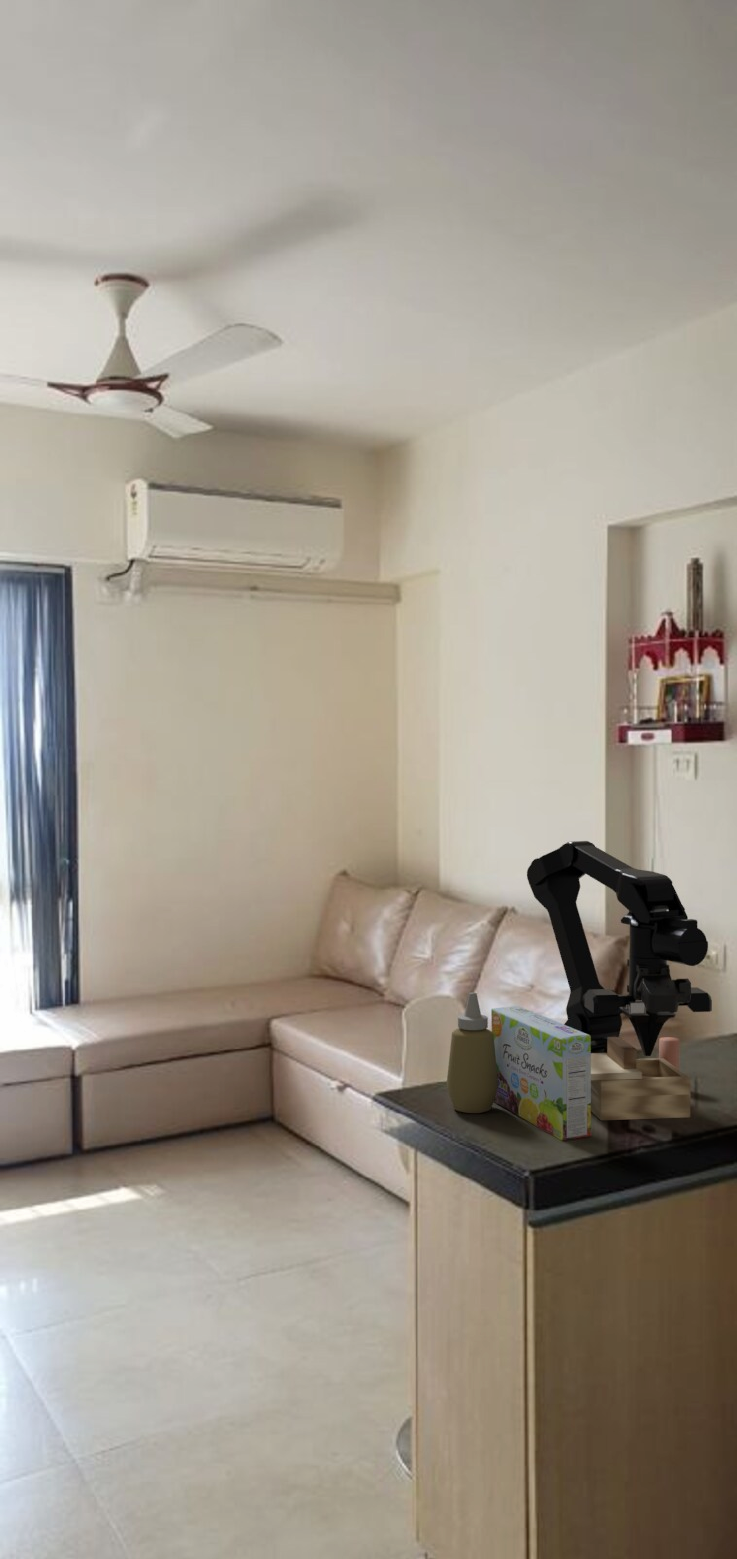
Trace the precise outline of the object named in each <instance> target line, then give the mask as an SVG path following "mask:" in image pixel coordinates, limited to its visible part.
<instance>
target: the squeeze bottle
mask: <svg viewBox="0 0 737 1559" xmlns="http://www.w3.org/2000/svg"><path fill="white" fill-rule="evenodd" d="M467 997H468V998H467V1003H466V1005H465V1006H466V1007H465V1011H464V1014H459V1015H458V1016H457V1028H456V1029H454V1030H453V1031H452V1032H451V1038H450V1049H449V1056H448V1058H449V1059H448V1067H447V1068H448V1069H447V1075H446V1087H447V1091H448V1095H449V1098H450V1101H451V1105H452V1108H453V1109H454V1110H456V1111H457V1112H461V1113H467V1114H480V1113H486V1112H489V1111H490V1110H492V1107H493V1104H494V1103H495V1102H494V1099H495V1096H496V1093H497V1090H498V1078H497V1067H496V1056H495V1045H494V1035H493V1033H492V1030H490V1029H488V1027H489V1025H488V1024H489V1022H488V1021H489V1018H488V1016H487V1015H485V1014H482V1013H481V1008H480V1004H479V999H478V994H477V992H469V993H468V996H467Z"/></svg>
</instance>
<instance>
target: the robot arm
mask: <svg viewBox="0 0 737 1559" xmlns="http://www.w3.org/2000/svg"><path fill="white" fill-rule="evenodd" d="M585 875H587V876H588V877H590V878H592V879H594V880H596V881H597V882H598V883H600V884H602V885H604V886H605V887H607V888H609V889H610V890H612V891H613V892H614V893H615V895H616V900H617V901H618V902H619V903H620V904H621V905H622V906H623V907H624V908H625V909H627V910H628V912H627V914H625V915H624V916H622V918H620V923H621V924H623V925H624V924H625V925H629V954H628V955H629V956H628V958H629V959H627V960H626V963H627V964H626V965H627V966H626V967H628V968H629V969H628V971H629V972H628V973H629V974H628V980H629V981H628V982H629V983H628V985H626V987H627V988H626V992H627V993H628V994H618V993H617V992H615V990H614V989H610V988H607V989H606V988H605V987H604V986H603V985H601V983H600V981H599V977H598V973H597V971H596V966H595V963H594V961H593V957H592V953H591V950H590V946H589V943H588V939H587V936H586V933H585V930H584V926H583V923H582V919H581V916H580V912H579V909H578V905H577V901H578V896H579V893H580V889H581V882H580V879H581V878H583V877H584V876H585ZM526 877H527V878H526V879H527V881H528V882H527V883H528V884H529V886H530V889H531V891H532V894H533V897H534V898H535V899H536V900H537V901H538V903H539V904H540V905H541V906H542V907H543V908H544V909H545V910H546V911H547V913H548V915H549V916H548V917H549V920H550V923H551V927H552V930H553V934H554V938H555V941H556V945H557V948H558V951H559V955H560V958H561V962H562V966H563V970H564V973H565V976H566V979H567V983H568V987H569V991H570V992H569V997H568V1001H567V1003H566V1007H565V1010H566V1011H565V1012H566V1016H567V1017H566V1018H567V1020H566V1021H565V1023H563V1024H564V1025H566V1026H568V1027H571V1028H573V1029H576V1030H578V1031H581V1032H583V1033H586V1034H588V1035H590V1036H591V1053H607V1037H620V1033H621V1029H622V1026H623V1020H622V1014H623V1015H625V1016H626V1017H627V1018H628V1019H629V1021H630V1023H631V1025H632V1027H633V1029H634V1032H635V1034H636V1037H637V1040H638V1043H639V1045H640V1048H641V1051H642V1054H643V1056H645V1057H651V1056H652V1053H653V1051H654V1048H655V1046H656V1043H657V1040H658V1039H659V1035H660V1033H661V1030H662V1029H663V1026H664V1024H666V1022H668V1020H669V1019H673V1018H675V1017H676V1016H677V1015H676V1013H677V1012H678V1010H679V1007H684V1006H685V1007H687V1008H688V1009H689V1010H690V1011H691V1012H692V1013H710V1012H713V1011H712V1009H713V1008H712V1006H713V1005H712V1004H713V1002H712V1001H713V1000H712V997H711V995H710V994H709V993H708V992H707V991H705V990H703V989H701V988H699V987H692V983H691V980H690V979H689V978H676V979H672V977H671V971H670V969H671V968H670V965H669V964H668V962H673V963H676V964H681V965H685V966H690V967H695V966H698V965H699V964H701V963H702V962H703V960H704V959H705V958H706V956H707V954H708V950H709V941H708V940H707V937H706V934H705V933H704V931H703V930H701V929H700V928H699V927H698V920H697V919H693V918H689V919H688V914H687V913H686V911H685V910H686V909H685V906H684V905H683V904H682V902H681V900H680V897H679V895H678V893H677V891H676V889H675V887H674V885H673V880H671V878H670V877H669V876H667V875H665V874H663V873H658V872H656V871H652V870H646V869H645V870H644V869H640V868H639V869H638V868H634V867H632V866H630V865H629V864H628V863H625V862H623V861H621V860H620V859H618V858H617V857H614V856H613V855H611V854H609V853H608V852H606V851H603V850H602V849H600V848H598V846H595V844H594V843H593V842H590V841H588V840H580V841H579V840H578V841H577V840H576V841H575V840H574V841H567V842H566V843H564V844H562V845H561V846H560V847H558V848H557V849H555V850H551V851H550V852H548V853H546V854H543V855H542V856H540V857H538V858H535V859H533V861H531V863H530V865H529V866H528V868H527V871H526Z"/></svg>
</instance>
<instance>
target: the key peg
mask: <svg viewBox="0 0 737 1559" xmlns="http://www.w3.org/2000/svg"><path fill="white" fill-rule="evenodd" d="M658 1039H659V1040H658V1042H659V1044H658V1046H659V1047H658V1048H659V1050H658V1058H663V1059H665V1060H666V1061H668V1062H669V1063H670V1064H672V1065H673V1066H675V1067H676V1068H677V1069H679V1070H680V1039H679V1038H677V1037H673V1036H671V1037H670V1036H667V1037H666V1036H664V1037H660V1038H658Z"/></svg>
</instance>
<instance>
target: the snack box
mask: <svg viewBox="0 0 737 1559" xmlns="http://www.w3.org/2000/svg"><path fill="white" fill-rule="evenodd" d="M490 1012H491V1015H490V1016H491V1032H492V1033H493V1035H494V1045H495V1056H496V1067H497V1078H498V1090H497V1093H496V1096H495V1099H494V1102H493V1103H496V1104H497V1105H499V1106H501V1107H503V1108H505V1109H506V1110H508V1111H510V1112H511V1113H513V1114H515V1115H517V1116H518V1117H520V1118H522V1119H523V1120H525V1121H527V1122H529V1123H530V1124H532V1125H533V1126H535V1127H537V1128H539V1129H540V1130H543V1131H544V1132H546V1133H548V1134H549V1135H551V1136H553V1137H555V1138H556V1139H558V1140H560V1141H562V1142H563V1141H568V1140H574V1139H579V1138H587V1137H591V1136H592V1122H591V1121H592V1111H591V1036H590V1035H588V1034H586V1033H583V1032H581V1031H578V1030H576V1029H573V1028H571V1027H568V1026H566V1025H564V1024H565V1023H561V1022H558V1021H555V1020H553V1019H552V1018H551V1019H550V1018H548V1017H546V1016H543V1015H542V1014H539V1013H537V1012H534V1011H531V1010H530V1009H527V1008H523V1007H521V1006H518V1005H513V1006H505V1007H495V1008H491V1010H490Z"/></svg>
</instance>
